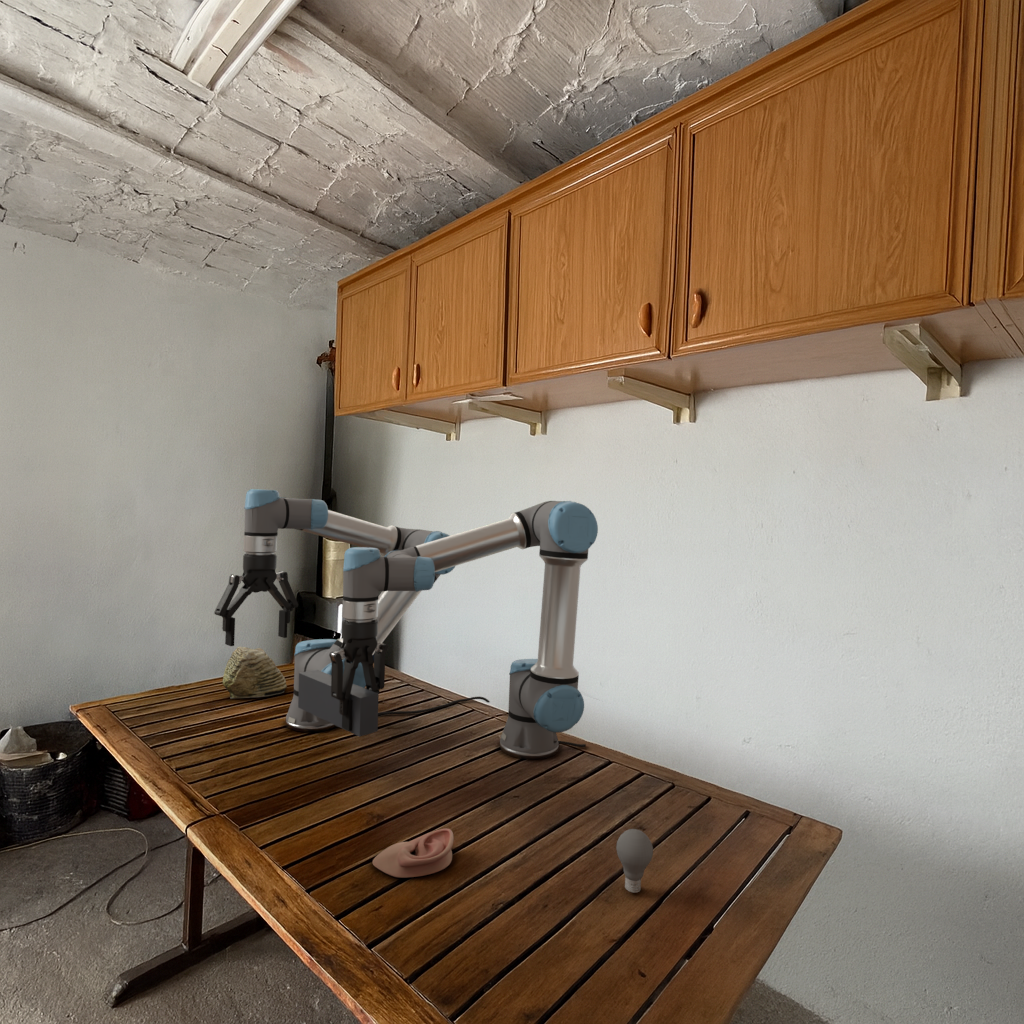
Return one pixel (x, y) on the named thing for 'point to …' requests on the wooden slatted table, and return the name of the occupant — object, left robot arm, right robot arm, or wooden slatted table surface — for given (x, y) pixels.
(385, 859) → the anatomical model
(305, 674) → the bar
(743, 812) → the wooden slatted table surface
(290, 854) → the wooden slatted table surface
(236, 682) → the fossil
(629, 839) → the light bulb
